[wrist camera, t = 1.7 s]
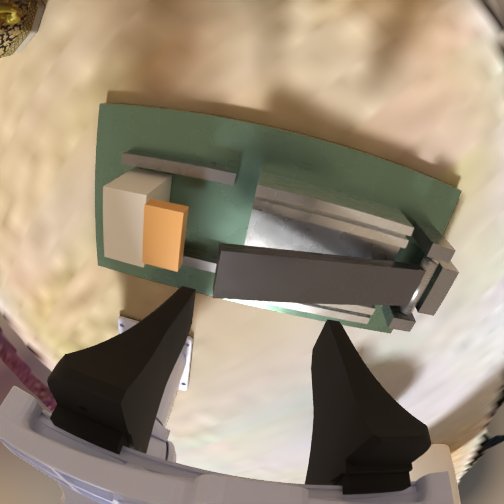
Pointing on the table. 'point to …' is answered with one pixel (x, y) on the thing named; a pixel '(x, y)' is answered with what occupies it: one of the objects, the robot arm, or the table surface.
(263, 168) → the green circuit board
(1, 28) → the ceramic cup
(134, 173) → the block
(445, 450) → the cylinder
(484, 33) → the table surface
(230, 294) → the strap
